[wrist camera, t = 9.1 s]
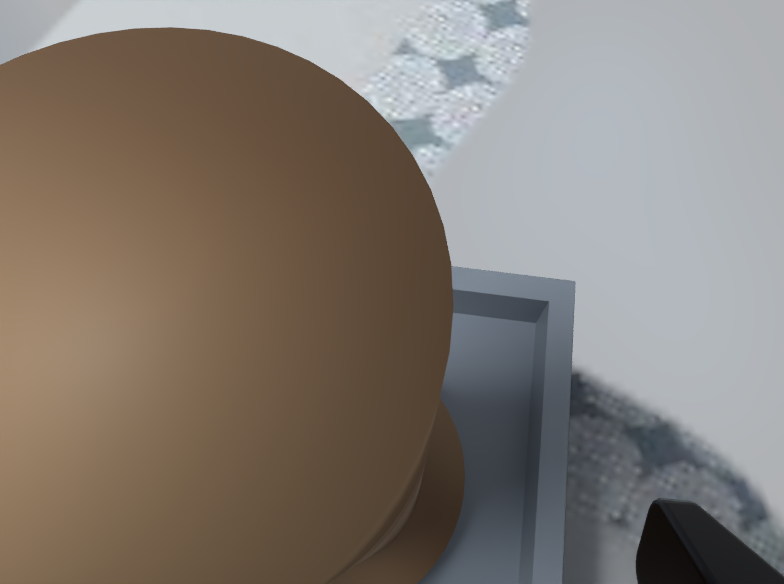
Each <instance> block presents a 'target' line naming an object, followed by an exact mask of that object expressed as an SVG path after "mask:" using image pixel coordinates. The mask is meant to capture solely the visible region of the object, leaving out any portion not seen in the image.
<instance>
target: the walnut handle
mask: <svg viewBox="0 0 784 584" xmlns="http://www.w3.org/2000/svg"><path fill="white" fill-rule="evenodd" d="M453 308H454V306H453V287H452V269H451V261H450V256H449V251H448V246H447V241H446V236H445V231H444V226H443V223H442V220H441V217H440V214H439V212H438V209H437V206H436V203H435V200H434V197H433V195H432V192H431V189H430V187H429V185H428V183H427V181H426V180H425V178H424V176H423V174H422V172H421V170H420V168H419V166H418V164H417V162H416V160H415V159H414V157H413V155H412V154H411V152H410V151H409V150H408V148H407V147H406V145H405V144H404V143H403V141H402V140H401V139H400V137H399V136H398V134H397V133H396V132H395V130H394V129H393V127H392V126H391V125H390V124H389V123H388V122H387V121H386V120H385V119H384V118H383V117H382V116H381V115H380V114H379V113H378V112H377V111H376V110H375V109H374V107H373V106H372V105H371V104H370V103H369V102H368V101H367V100H365V99H364V98H363V97H362V96H360V95H359V94H358V93H357V92H355V91H354V90H353V89H351V88H350V87H349V86H348V85H346V84H345V83H344V82H343V81H341V80H340V79H339V78H337V77H335V76H334V75H332V74H330V73H329V72H327V71H325V70H324V69H322V68H320V67H319V66H317V65H315V64H314V63H312V62H310V61H308V60H306V59H304V58H301V57H299V56H297V55H295V54H292V53H290V52H288V51H285V50H283V49H281V48H279V47H276V46H273V45H269V44H266V43H263V42H260V41H256V40H253V39H250V38H246V37H243V36H238V35H232V34H227V33H221V32H216V31H210V30H200V29H186V28H172V27H171V28H140V29H128V30H121V31H114V32H106V33H99V34H94V35H90V36H85V37H81V38H77V39H73V40H68V41H64V42H60V43H57V44H54V45H51V46H48V47H45V48H42V49H39V50H36V51H33V52H30V53H27V54H24V55H22V56H19V57H17V58H15V59H13V60H10V61H8V62H6V63H4V64H2V65H0V584H417V583H418V582H419V581H420V580H421V579H422V578H424V576H425V575H426V574H427V573H428V572H429V571H430V569H431V568H432V567H433V566H434V565H435V564H436V562H437V561H438V559H439V558H440V556H441V555H442V553H443V552H444V550H445V549H446V547H447V545H448V543H449V541H450V539H451V537H452V535H453V533H454V530H455V527H456V524H457V521H458V519H459V516H460V512H461V507H462V502H463V497H464V485H465V469H464V457H463V452H462V446H461V442H460V439H459V436H458V432H457V429H456V426H455V424H454V422H453V420H452V418H451V416H450V413H449V411H448V410H447V408H446V407H445V405H444V403H443V402H442V400H441V399H440V394H441V389H442V385H443V380H444V375H445V371H446V366H447V362H448V357H449V353H450V343H451V331H452V320H453Z"/></svg>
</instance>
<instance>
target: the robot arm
mask: <svg viewBox="0 0 784 584" xmlns="http://www.w3.org/2000/svg"><path fill="white" fill-rule="evenodd" d="M636 575H637V581H638V584H784V576H783V575H782V574H780V573H779V572H778V571H777V570H776V569H774V568H773V567H772V566H771V565H770V564H768V563H767V562H766V561H765V560H764V559H762V558H761V557H760V556H759V555H758V554H756V553H755V552H754V551H753V550H752V549H750V548H749V547H748V546H747V545H746V544H744V543H743V542H742V541H741V540H740V539H738V538H737V537H736V536H735V535H734V534H732V533H731V532H730V531H729V530H728V529H726V528H725V527H724V526H723V525H722V524H720V523H719V522H718V521H717V520H716V519H714V518H713V517H712V516H711V515H710V514H708V513H707V512H706V511H705V510H704V509H702V508H701V507H700V506H698V505H697V504H696V503H694V502H691V501H685V500H674V499H664V498H659V499H656V500H654V501H653V502H652V504H651V505H650V508H649V510H648V514H647V518H646V521H645V525H644V529H643V532H642V536H641V540H640V543H639V547H638V551H637V555H636Z"/></svg>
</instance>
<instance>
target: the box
mask: <svg viewBox="0 0 784 584" xmlns="http://www.w3.org/2000/svg"><path fill="white" fill-rule="evenodd" d="M451 269H452V287H453V306H454V308H453V320H452V331H451V343H450V353H449V357H448V362H447V366H446V371H445V375H444V380H443V385H442V389H441V394H440V399H441V400H442V402H443V403H444V405H445V407H446V408H447V410H448V411H449V413H450V416H451V418H452V420H453V422H454V424H455V426H456V429H457V432H458V436H459V439H460V442H461V446H462V452H463V457H464V469H465V485H464V497H463V502H462V507H461V512H460V516H459V519H458V521H457V524H456V527H455V530H454V533H453V535H452V537H451V539H450V541H449V543H448V545H447V547H446V549H445V550H444V552H443V553H442V555H441V556H440V558H439V559H438V561H437V562H436V564H435V565H434V566H433V567H432V568H431V569H430V571H429V572H428V573H427V574H426V575H425V576H424V578H422V579H421V580H420V581H419V582H418V583H417V584H562V573H563V550H564V528H565V505H566V483H567V460H568V437H569V415H570V392H571V370H572V345H573V323H574V302H575V281H569V280H560V279H552V278H543V277H535V276H528V275H519V274H511V273H503V272H495V271H486V270H478V269H469V268H461V267H453V266H451Z"/></svg>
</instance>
